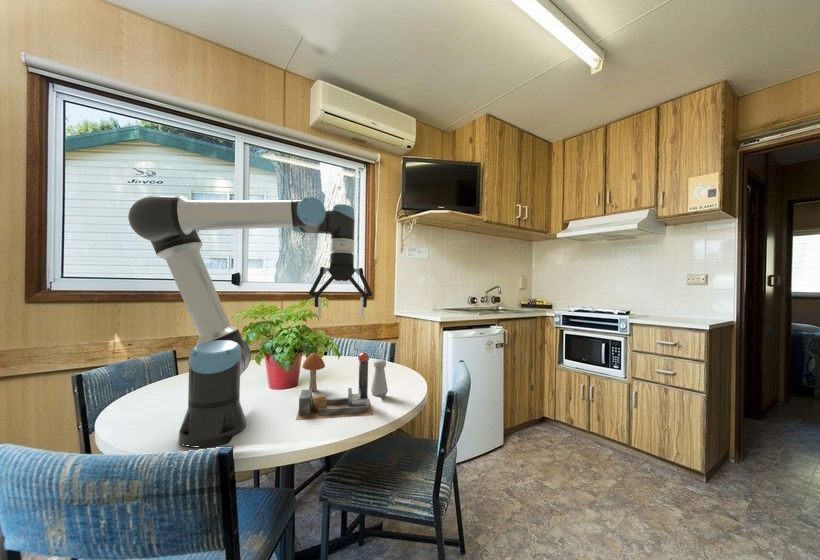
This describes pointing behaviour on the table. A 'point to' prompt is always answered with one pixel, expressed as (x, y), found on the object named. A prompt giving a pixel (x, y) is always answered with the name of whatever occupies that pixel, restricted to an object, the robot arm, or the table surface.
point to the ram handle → (361, 384)
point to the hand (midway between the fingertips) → (340, 317)
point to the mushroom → (313, 368)
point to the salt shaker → (379, 379)
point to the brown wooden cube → (319, 402)
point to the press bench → (329, 408)
